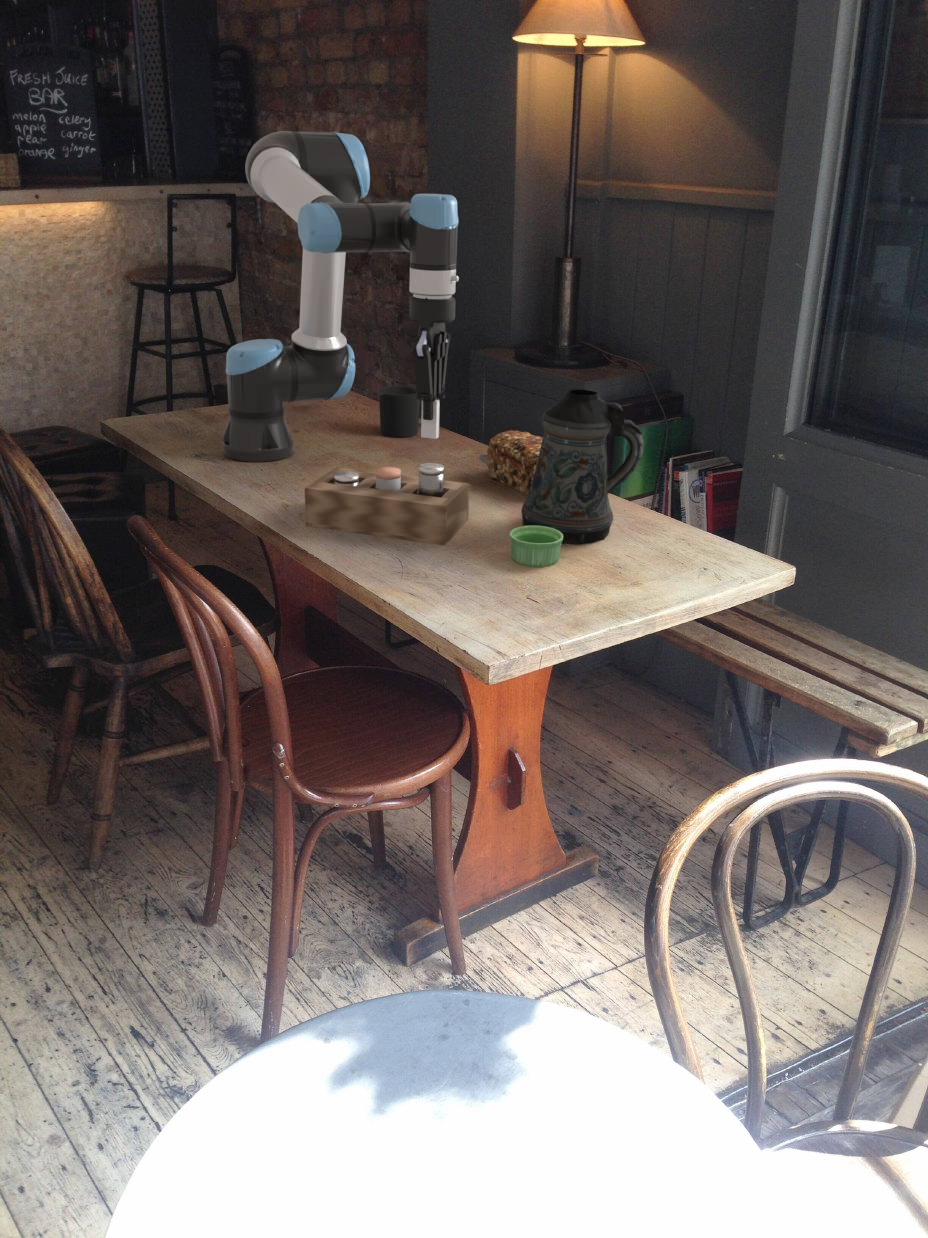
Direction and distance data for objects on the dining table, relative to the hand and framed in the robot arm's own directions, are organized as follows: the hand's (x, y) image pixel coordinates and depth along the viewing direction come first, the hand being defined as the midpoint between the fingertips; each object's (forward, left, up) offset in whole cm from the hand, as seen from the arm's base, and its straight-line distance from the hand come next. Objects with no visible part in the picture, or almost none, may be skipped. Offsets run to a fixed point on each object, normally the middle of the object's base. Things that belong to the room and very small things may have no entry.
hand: (429, 436), depth 188 cm
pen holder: (-28, +60, -17) cm, 68 cm away
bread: (+11, +33, -17) cm, 39 cm away
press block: (-8, 0, -17) cm, 18 cm away
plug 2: (0, 0, -12) cm, 12 cm away
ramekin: (+21, -7, -17) cm, 28 cm away
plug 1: (-16, 0, -15) cm, 22 cm away
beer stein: (+24, +10, -17) cm, 31 cm away
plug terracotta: (-8, 0, -13) cm, 15 cm away
